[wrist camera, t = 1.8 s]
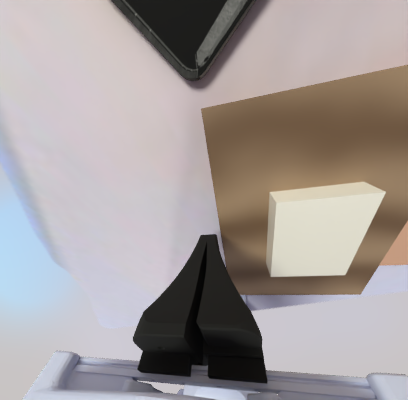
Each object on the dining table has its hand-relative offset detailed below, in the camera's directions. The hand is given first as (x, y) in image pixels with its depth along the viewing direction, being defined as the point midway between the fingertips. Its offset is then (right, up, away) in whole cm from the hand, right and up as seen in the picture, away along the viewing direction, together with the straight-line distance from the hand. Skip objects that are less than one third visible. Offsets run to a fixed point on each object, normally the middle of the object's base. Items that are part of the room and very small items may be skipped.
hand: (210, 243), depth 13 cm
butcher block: (+8, +2, +2) cm, 9 cm away
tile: (+8, +1, -1) cm, 8 cm away
